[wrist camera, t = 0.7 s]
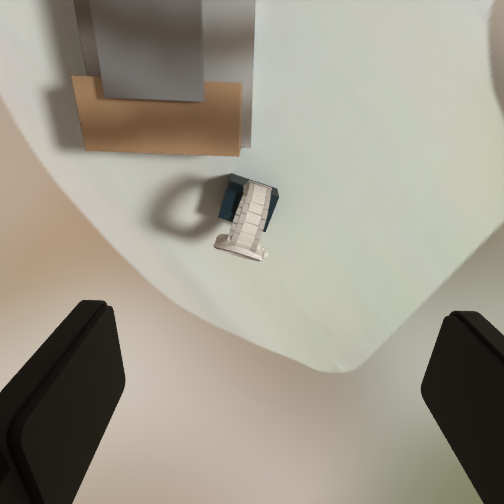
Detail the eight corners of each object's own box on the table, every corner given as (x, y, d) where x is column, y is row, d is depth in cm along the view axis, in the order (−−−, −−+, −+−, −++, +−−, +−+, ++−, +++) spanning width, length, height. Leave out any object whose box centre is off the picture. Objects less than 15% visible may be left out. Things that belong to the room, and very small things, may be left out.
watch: (216, 222, 39) (203, 267, 29) (236, 158, 35) (229, 185, 26) (259, 236, 40) (261, 284, 30) (283, 174, 36) (294, 207, 26)
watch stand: (57, -125, 25) (-9, -195, 19) (259, -115, 26) (261, -182, 19) (102, 140, 35) (67, 152, 28) (250, 146, 35) (249, 159, 28)
